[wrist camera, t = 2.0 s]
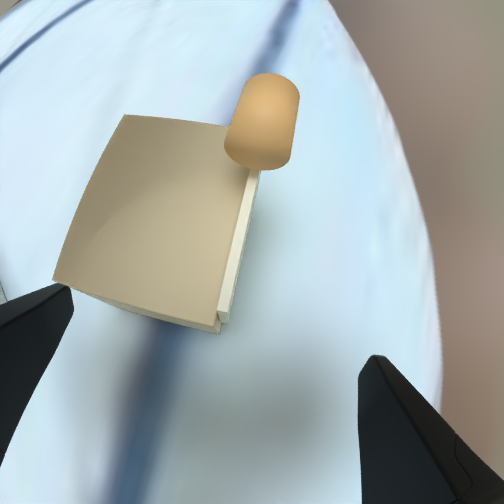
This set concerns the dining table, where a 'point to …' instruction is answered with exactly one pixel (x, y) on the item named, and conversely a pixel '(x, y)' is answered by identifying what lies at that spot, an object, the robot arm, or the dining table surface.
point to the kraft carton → (157, 222)
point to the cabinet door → (257, 155)
